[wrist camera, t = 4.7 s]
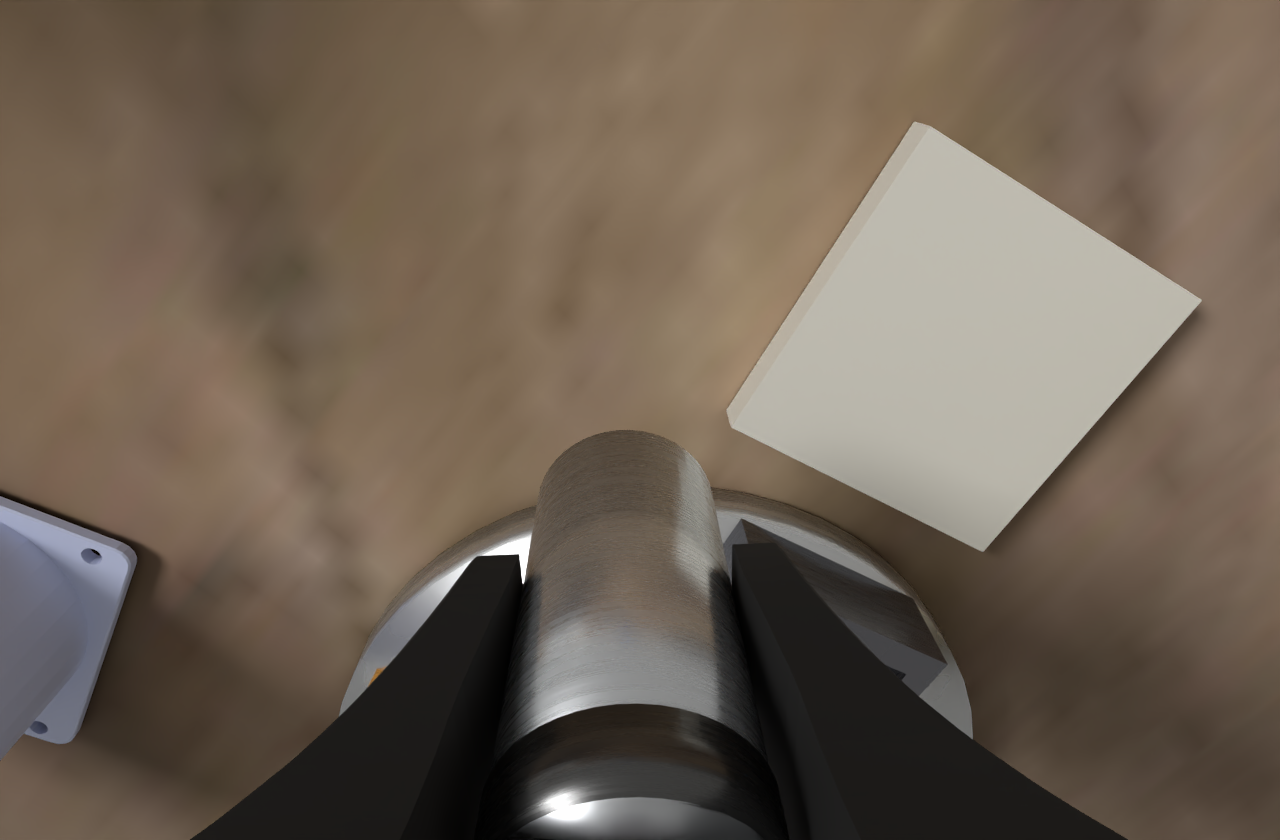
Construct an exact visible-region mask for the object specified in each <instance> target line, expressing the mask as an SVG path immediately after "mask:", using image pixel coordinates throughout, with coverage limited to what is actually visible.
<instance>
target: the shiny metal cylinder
mask: <svg viewBox="0 0 1280 840" xmlns="http://www.w3.org/2000/svg"><path fill="white" fill-rule="evenodd" d="M473 840H790V838H789V833H788V829H787V824H786V819H785V815H784V810H783V806H782V801H781V796H780V792H779V788H778V785H777V781H776V778H775V776H774V774H773V772H772V770H771V768H770V766H769V763H768V758H767V753H766V749H765V744H764V739H763V734H762V730H761V725H760V720H759V715H758V710H757V706H756V701H755V696H754V691H753V686H752V682H751V677H750V672H749V667H748V662H747V658H746V653H745V648H744V643H743V638H742V634H741V629H740V624H739V619H738V615H737V610H736V605H735V600H734V595H733V591H732V586H731V581H730V576H729V571H728V567H727V562H726V557H725V552H724V547H723V543H722V538H721V533H720V528H719V524H718V519H717V514H716V509H715V504H714V500H713V495H712V490H711V487H710V483H709V481H708V479H707V476H706V474H705V472H704V471H703V469H702V468H701V466H700V465H699V463H698V462H697V461H696V460H695V459H694V458H693V456H692V455H690V454H689V453H688V452H687V451H686V450H685V449H684V448H682V447H680V446H679V445H677V444H676V443H674V442H672V441H670V440H668V439H666V438H664V437H661V436H658V435H655V434H652V433H648V432H643V431H634V430H617V431H610V432H604V433H600V434H597V435H593V436H591V437H588V438H586V439H583V440H582V441H580V442H578V443H576V444H574V445H573V446H571V447H570V448H569V449H567V450H566V451H565V452H563V453H562V454H561V455H560V456H559V457H558V458H557V459H556V460H555V462H554V463H553V464H552V466H551V467H550V468H549V470H548V472H547V473H546V475H545V477H544V479H543V482H542V484H541V487H540V492H539V496H538V502H537V507H536V513H535V519H534V525H533V530H532V536H531V542H530V548H529V553H528V559H527V565H526V571H525V576H524V582H523V588H522V594H521V600H520V605H519V611H518V617H517V623H516V628H515V634H514V639H513V645H512V651H511V657H510V662H509V668H508V674H507V680H506V685H505V691H504V697H503V703H502V708H501V714H500V720H499V726H498V731H497V737H496V743H495V749H494V754H493V760H492V766H491V772H490V773H489V776H488V778H487V780H486V783H485V785H484V787H483V792H482V796H481V800H480V806H479V811H478V817H477V822H476V828H475V833H474V839H473Z"/></svg>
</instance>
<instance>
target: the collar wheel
mask: <svg viewBox="0 0 1280 840" xmlns="http://www.w3.org/2000/svg"><path fill="white" fill-rule="evenodd" d="M711 490H712V495H713V500H714V504H715V509H716V514H717V519H718V524H719V528H720V533H721V538H722V543H723V547H724V552H725V557H726V562H727V567H728V571H729V576H730V581H731V586H732V544H752V543H776V544H777V545H778V546H779V547H780V548H781V549H782V550H783V551H784V552H785V554H786V555H787V556H788V557H789V559H790V560H791V561H792V563H793V564H794V565H795V566H796V568H797V569H798V570H799V571H800V573H801V574H802V575H803V576H804V578H805V579H806V580H807V581H808V582H809V584H810V585H811V586H812V587H813V588H814V590H815V591H816V592H817V593H818V594H819V596H820V597H821V598H822V599H823V600H824V601H825V602H826V604H827V605H828V606H829V607H830V608H831V609H832V610H833V612H834V613H835V614H836V615H837V616H838V617H839V618H840V619H841V620H842V621H843V622H844V623H845V624H846V626H847V627H848V628H849V629H850V630H851V631H852V632H853V633H854V634H855V635H856V636H857V637H858V638H859V639H860V641H861V642H862V643H863V644H864V645H865V646H866V647H867V648H868V649H869V650H870V651H871V652H872V653H873V654H874V655H875V656H876V657H877V658H878V659H879V660H880V661H881V662H883V663H884V664H885V665H886V666H887V667H888V668H889V669H890V670H891V671H892V672H893V673H894V674H895V675H896V676H897V677H898V678H899V679H900V680H901V681H903V682H904V683H905V684H906V685H907V686H908V687H909V688H910V689H911V690H913V691H914V692H915V693H916V694H917V695H918V696H919V697H920V698H922V699H923V700H924V701H925V702H926V703H927V704H929V705H930V706H931V707H932V708H934V709H935V710H936V711H937V712H939V713H940V714H941V715H942V716H943V717H945V718H946V719H947V720H948V721H950V722H951V723H952V724H953V725H955V726H956V727H957V728H958V729H960V730H961V731H962V732H964V733H965V734H966V735H968V736H969V737H970V738H972V739H973V730H972V711H971V707H970V703H969V699H968V695H967V691H966V687H965V682H964V679H963V677H962V675H961V673H960V671H959V668H958V666H957V664H956V662H955V660H954V657H953V655H952V653H951V651H950V649H949V647H948V645H947V643H946V641H945V640H944V638H943V636H942V634H941V632H940V630H939V629H938V627H937V625H936V623H935V621H934V619H933V618H932V616H931V614H930V613H929V611H928V610H927V608H926V607H925V605H924V604H923V602H922V601H921V600H920V598H919V597H918V595H917V594H916V592H915V591H914V589H913V588H912V587H911V586H910V585H909V584H908V583H907V582H906V581H905V579H904V578H903V577H902V576H901V575H900V574H899V573H898V572H897V571H896V570H895V569H894V568H893V567H892V566H891V565H890V564H889V563H888V562H887V561H886V560H885V559H883V558H882V557H881V556H879V555H878V554H877V553H875V552H874V551H873V550H871V549H870V548H869V547H868V546H866V545H865V544H864V543H862V542H861V541H860V540H858V539H857V538H855V537H853V536H852V535H850V534H848V533H846V532H845V531H843V530H841V529H839V528H837V527H836V526H834V525H832V524H830V523H829V522H827V521H825V520H823V519H821V518H819V517H816V516H814V515H811V514H809V513H806V512H804V511H801V510H799V509H796V508H794V507H791V506H789V505H786V504H784V503H780V502H776V501H772V500H769V499H765V498H761V497H757V496H754V495H750V494H746V493H742V492H736V491H729V490H722V489H715V488H711ZM536 507H537V505H535V506H532V507H529V508H526V509H523V510H520V511H517V512H514V513H512V514H510V515H508V516H506V517H504V518H502V519H500V520H497V521H495V522H493V523H491V524H489V525H487V526H485V527H483V528H481V529H478V530H476V531H475V532H473V533H472V534H470V535H468V536H467V537H465V538H464V539H462V540H461V541H459V542H458V543H456V544H454V545H453V546H451V547H450V548H448V549H447V550H445V551H443V552H442V553H441V554H439V555H438V556H437V557H436V558H435V559H434V560H432V561H431V562H430V563H429V564H428V565H427V566H425V567H424V568H423V569H422V570H421V571H420V572H418V573H417V574H416V575H415V576H414V577H413V578H412V579H411V580H410V581H409V582H408V583H407V584H406V585H405V587H404V588H403V589H402V590H401V591H400V592H399V593H398V595H397V596H396V597H395V598H394V599H393V600H392V602H391V603H390V604H389V605H388V606H387V608H386V609H385V611H384V613H383V614H382V616H381V618H380V619H379V621H378V622H377V624H376V626H375V627H374V629H373V630H372V632H371V634H370V635H369V638H368V640H367V643H366V645H365V647H364V650H363V652H362V655H361V657H360V660H359V662H358V664H357V667H356V669H355V672H354V674H353V677H352V679H351V682H350V684H349V686H348V689H347V691H346V694H345V696H344V699H343V701H342V704H341V709H340V714H339V716H340V715H341V714H342V713H343V712H344V711H345V710H346V709H347V708H348V707H349V706H350V705H351V704H352V703H353V702H354V701H355V700H356V699H357V698H358V697H359V696H360V695H361V694H362V693H363V692H364V691H365V689H366V688H367V687H368V686H369V685H370V684H371V683H372V682H373V681H374V680H375V679H376V678H377V676H378V675H379V674H380V673H381V672H382V671H383V670H384V669H385V668H386V667H387V666H388V665H389V664H390V662H391V661H392V660H393V659H394V658H395V657H396V656H397V654H398V653H399V652H400V651H401V650H402V649H403V647H404V646H405V645H406V644H407V643H408V641H409V640H410V639H411V638H412V636H413V635H414V634H415V633H416V632H417V630H418V629H419V628H420V627H421V626H422V624H423V623H424V622H425V621H426V620H427V618H428V617H429V616H430V615H431V613H432V612H433V611H434V609H435V608H436V607H437V606H438V604H439V603H440V602H441V601H442V599H443V598H444V597H445V595H446V594H447V593H448V591H449V590H450V589H451V587H452V586H453V585H454V583H455V582H456V581H457V579H458V578H459V577H460V575H461V574H462V573H463V571H464V570H465V569H466V567H467V566H468V565H469V563H470V562H471V561H472V560H473V559H474V558H475V557H476V556H485V555H507V554H519V555H520V564H521V572H522V580H523V582H524V576H525V571H526V565H527V559H528V553H529V548H530V542H531V536H532V530H533V525H534V519H535V513H536Z"/></svg>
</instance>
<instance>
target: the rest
mask: <svg viewBox="0 0 1280 840" xmlns="http://www.w3.org/2000/svg"><path fill="white" fill-rule="evenodd" d="M1201 301H1202V300H1201V299H1199V298H1198V297H1196V296H1195V295H1193V294H1192V293H1190V292H1189V291H1187V290H1185V289H1184V288H1182V287H1181V286H1179V285H1178V284H1176V283H1174V282H1173V281H1171V280H1170V279H1168V278H1167V277H1165V276H1164V275H1162V274H1160V273H1159V272H1157V271H1156V270H1154V269H1153V268H1151V267H1149V266H1148V265H1146V264H1145V263H1143V262H1142V261H1140V260H1139V259H1137V258H1135V257H1134V256H1132V255H1131V254H1129V253H1128V252H1126V251H1124V250H1123V249H1121V248H1120V247H1118V246H1117V245H1115V244H1114V243H1112V242H1110V241H1109V240H1107V239H1106V238H1104V237H1103V236H1101V235H1100V234H1098V233H1096V232H1095V231H1093V230H1092V229H1090V228H1089V227H1087V226H1085V225H1084V224H1082V223H1081V222H1079V221H1078V220H1076V219H1075V218H1073V217H1071V216H1070V215H1068V214H1067V213H1065V212H1064V211H1062V210H1060V209H1059V208H1057V207H1056V206H1054V205H1053V204H1051V203H1050V202H1048V201H1046V200H1045V199H1043V198H1042V197H1040V196H1039V195H1037V194H1035V193H1034V192H1032V191H1031V190H1029V189H1028V188H1026V187H1025V186H1023V185H1021V184H1020V183H1018V182H1017V181H1015V180H1014V179H1012V178H1010V177H1009V176H1007V175H1006V174H1004V173H1003V172H1001V171H1000V170H998V169H996V168H995V167H993V166H992V165H990V164H989V163H987V162H986V161H984V160H982V159H981V158H979V157H978V156H976V155H975V154H973V153H971V152H970V151H968V150H967V149H965V148H964V147H962V146H961V145H959V144H957V143H956V142H954V141H953V140H951V139H950V138H948V137H946V136H945V135H943V134H942V133H940V132H939V131H937V130H936V129H934V128H932V127H931V126H928V125H925V124H921V123H918V122H914V123H913V124H912V126H911V127H910V129H909V130H908V132H907V133H906V135H905V136H904V138H903V140H902V141H901V143H900V144H899V146H898V147H897V149H896V150H895V152H894V153H893V155H892V156H891V158H890V159H889V161H888V163H887V164H886V166H885V167H884V169H883V170H882V172H881V173H880V175H879V176H878V178H877V179H876V181H875V183H874V184H873V186H872V187H871V189H870V190H869V192H868V193H867V195H866V196H865V198H864V199H863V201H862V203H861V204H860V206H859V207H858V209H857V210H856V212H855V213H854V215H853V216H852V218H851V219H850V221H849V222H848V224H847V226H846V227H845V229H844V230H843V232H842V233H841V235H840V236H839V238H838V239H837V241H836V242H835V244H834V246H833V247H832V249H831V250H830V252H829V253H828V255H827V256H826V258H825V259H824V261H823V262H822V264H821V266H820V267H819V269H818V270H817V272H816V273H815V275H814V276H813V278H812V279H811V281H810V282H809V284H808V285H807V287H806V289H805V290H804V292H803V293H802V295H801V296H800V298H799V299H798V301H797V302H796V304H795V305H794V307H793V309H792V310H791V312H790V313H789V315H788V316H787V318H786V319H785V321H784V322H783V324H782V325H781V327H780V329H779V330H778V332H777V333H776V335H775V336H774V338H773V339H772V341H771V342H770V344H769V345H768V347H767V349H766V350H765V352H764V353H763V355H762V356H761V358H760V359H759V361H758V362H757V364H756V365H755V367H754V368H753V370H752V372H751V373H750V375H749V376H748V378H747V379H746V381H745V382H744V384H743V385H742V387H741V388H740V390H739V392H738V393H737V395H736V396H735V398H734V399H733V401H732V402H731V404H730V405H729V407H728V408H727V410H726V411H727V415H728V418H729V421H730V425H731V428H733V429H735V430H737V431H739V432H742V433H744V434H746V435H748V436H750V437H752V438H754V439H756V440H758V441H760V442H762V443H764V444H766V445H768V446H770V447H772V448H774V449H776V450H778V451H780V452H782V453H784V454H786V455H788V456H790V457H792V458H794V459H796V460H798V461H800V462H802V463H804V464H806V465H808V466H810V467H812V468H814V469H816V470H818V471H820V472H822V473H824V474H826V475H828V476H830V477H832V478H834V479H836V480H838V481H840V482H842V483H844V484H846V485H848V486H850V487H852V488H854V489H857V490H859V491H861V492H863V493H865V494H867V495H869V496H871V497H873V498H875V499H877V500H879V501H881V502H883V503H885V504H887V505H889V506H891V507H893V508H895V509H897V510H899V511H901V512H903V513H905V514H907V515H909V516H911V517H913V518H915V519H917V520H919V521H921V522H923V523H925V524H927V525H929V526H931V527H933V528H935V529H937V530H939V531H941V532H943V533H945V534H947V535H949V536H951V537H953V538H955V539H957V540H959V541H961V542H963V543H965V544H967V545H970V546H972V547H974V548H976V549H978V550H980V551H982V552H984V550H985V549H986V548H987V547H988V546H989V545H990V544H991V542H992V541H993V540H994V539H995V538H996V537H997V535H998V534H999V533H1000V532H1001V531H1002V530H1003V529H1004V527H1005V526H1006V525H1007V524H1008V523H1009V522H1010V521H1011V519H1012V518H1013V517H1014V516H1015V515H1016V514H1017V513H1018V511H1019V510H1020V509H1021V508H1022V507H1023V506H1024V504H1025V503H1026V502H1027V501H1028V500H1029V499H1030V498H1031V496H1032V495H1033V494H1034V493H1035V492H1036V491H1037V490H1038V488H1039V487H1040V486H1041V485H1042V484H1043V483H1044V481H1045V480H1046V479H1047V478H1048V477H1049V476H1050V475H1051V473H1052V472H1053V471H1054V470H1055V469H1056V468H1057V467H1058V465H1059V464H1060V463H1061V462H1062V461H1063V460H1064V458H1065V457H1066V456H1067V455H1068V454H1069V453H1070V452H1071V450H1072V449H1073V448H1074V447H1075V446H1076V445H1077V444H1078V442H1079V441H1080V440H1081V439H1082V438H1083V437H1084V436H1085V434H1086V433H1087V432H1088V431H1089V430H1090V429H1091V427H1092V426H1093V425H1094V424H1095V423H1096V422H1097V421H1098V419H1099V418H1100V417H1101V416H1102V415H1103V414H1104V413H1105V411H1106V410H1107V409H1108V408H1109V407H1110V406H1111V404H1112V403H1113V402H1114V401H1115V400H1116V399H1117V398H1118V396H1119V395H1120V394H1121V393H1122V392H1123V391H1124V390H1125V388H1126V387H1127V386H1128V385H1129V384H1130V383H1131V381H1132V380H1133V379H1134V378H1135V377H1136V376H1137V375H1138V373H1139V372H1140V371H1141V370H1142V369H1143V368H1144V367H1145V365H1146V364H1147V363H1148V362H1149V361H1150V360H1151V359H1152V357H1153V356H1154V355H1155V354H1156V353H1157V352H1158V350H1159V349H1160V348H1161V347H1162V346H1163V345H1164V344H1165V342H1166V341H1167V340H1168V339H1169V338H1170V337H1171V336H1172V334H1173V333H1174V332H1175V331H1176V330H1177V329H1178V327H1179V326H1180V325H1181V324H1182V323H1183V322H1184V321H1185V319H1186V318H1187V317H1188V316H1189V315H1190V314H1191V313H1192V311H1193V310H1194V309H1195V308H1196V307H1197V306H1198V304H1199V303H1200V302H1201Z"/></svg>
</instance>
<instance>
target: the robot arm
mask: <svg viewBox="0 0 1280 840" xmlns="http://www.w3.org/2000/svg"><path fill="white" fill-rule="evenodd" d="M91 549H94V550H96V551H98V552H99V553H100V555H101V556H99V555H97V554H95V553H93V552H92V550H91ZM136 564H137V556H136V554H135V552H134V551H133V550H132V549H131V548H130V547H129V546H128V545H126V544H124V543H122V542H120V541H117V540H114V539H112V538H109V537H106V536H104V535H101V534H99V533H96V532H93V531H91V530H88V529H85V528H83V527H80V526H77V525H75V524H72V523H69V522H67V521H64V520H62V519H59V518H56V517H54V516H51V515H48V514H46V513H43V512H40V511H38V510H35V509H33V508H30V507H27V506H25V505H22V504H19V503H17V502H14V501H11V500H9V499H6V498H4V497H1V496H0V761H1V759H2V758H3V757H4V756H5V755H6V754H7V752H8V751H9V750H10V749H11V748H12V747H13V745H14V744H15V743H16V742H17V741H18V739H19V738H20V737H21V736H22V735H23V734H26V735H30V736H33V737H36V738H39V739H42V740H45V741H49V742H52V743H56V744H64V743H68V742H70V741H72V740H73V738H74V737H75V736H76V734H77V733H78V732H79V730H80V728H81V725H82V722H83V719H84V716H85V713H86V711H87V708H88V705H89V702H90V699H91V696H92V693H93V690H94V687H95V684H96V681H97V678H98V675H99V672H100V669H101V666H102V664H103V661H104V658H105V655H106V652H107V649H108V646H109V643H110V640H111V637H112V634H113V631H114V628H115V625H116V622H117V619H118V617H119V614H120V611H121V608H122V605H123V602H124V599H125V596H126V593H127V590H128V587H129V584H130V581H131V578H132V575H133V572H134V570H135V567H136ZM522 588H523V580H522V572H521V564H520V555H519V554H507V555H485V556H476V557H475V558H474V559H473V560H472V561H471V562H470V563H469V565H468V566H467V567H466V569H465V570H464V571H463V573H462V574H461V575H460V577H459V578H458V579H457V581H456V582H455V583H454V585H453V586H452V587H451V589H450V590H449V591H448V593H447V594H446V595H445V597H444V598H443V599H442V601H441V602H440V603H439V604H438V606H437V607H436V608H435V609H434V611H433V612H432V613H431V615H430V616H429V617H428V618H427V620H426V621H425V622H424V623H423V624H422V626H421V627H420V628H419V629H418V630H417V632H416V633H415V634H414V635H413V636H412V638H411V639H410V640H409V641H408V643H407V644H406V645H405V646H404V647H403V649H402V650H401V651H400V652H399V653H398V654H397V656H396V657H395V658H394V659H393V660H392V661H391V662H390V664H389V665H388V666H387V667H386V668H385V669H384V670H383V671H382V672H381V673H380V674H379V675H378V676H377V678H376V679H375V680H374V681H373V682H372V683H371V684H370V685H369V686H368V687H367V688H366V689H365V691H364V692H363V693H362V694H361V695H360V696H359V697H358V698H357V699H356V700H355V701H354V702H353V703H352V704H351V705H350V706H349V707H348V708H347V709H346V710H345V711H344V712H343V713H342V714H341V715H340V716H339V717H338V718H337V719H336V720H335V721H334V722H333V723H332V724H331V725H330V726H329V727H328V728H327V729H326V730H325V731H324V732H323V733H322V734H321V735H320V736H318V737H317V738H316V739H315V740H314V741H313V742H312V743H311V744H310V745H309V746H308V747H306V748H305V749H304V750H303V751H302V752H301V753H300V754H299V755H298V756H296V757H295V758H294V759H293V760H292V761H291V762H290V763H288V764H287V765H286V766H285V767H284V768H282V769H281V770H280V771H278V772H277V773H276V774H275V775H273V776H272V777H271V778H270V779H268V780H267V781H266V782H265V783H263V784H262V785H261V786H260V787H258V788H257V789H256V790H255V791H253V792H252V793H251V794H250V795H248V796H247V797H246V798H245V799H243V800H242V801H241V802H240V803H238V804H237V805H236V806H235V807H233V808H232V809H231V810H230V811H228V812H227V813H226V814H224V815H223V816H222V817H221V818H219V819H218V820H217V821H215V822H214V823H213V824H211V825H210V826H208V827H207V828H206V829H204V830H203V831H201V832H200V833H199V834H197V835H196V836H194V837H193V838H192V839H190V840H473V839H474V833H475V828H476V822H477V817H478V811H479V806H480V800H481V796H482V792H483V787H484V785H485V783H486V780H487V778H488V776H489V773H490V772H491V766H492V760H493V754H494V749H495V743H496V737H497V731H498V726H499V720H500V714H501V708H502V703H503V697H504V691H505V685H506V680H507V674H508V668H509V662H510V657H511V651H512V645H513V639H514V634H515V628H516V623H517V617H518V611H519V605H520V600H521V594H522ZM732 591H733V595H734V600H735V605H736V610H737V615H738V619H739V624H740V629H741V634H742V638H743V643H744V648H745V653H746V658H747V662H748V667H749V672H750V677H751V682H752V686H753V691H754V696H755V701H756V706H757V710H758V715H759V720H760V725H761V730H762V734H763V739H764V744H765V749H766V753H767V758H768V763H769V766H770V768H771V770H772V772H773V774H774V776H775V778H776V781H777V785H778V788H779V792H780V796H781V801H782V806H783V810H784V815H785V819H786V824H787V829H788V833H789V838H790V840H1128V839H1126V838H1124V837H1123V836H1121V835H1119V834H1118V833H1116V832H1114V831H1113V830H1111V829H1109V828H1107V827H1106V826H1104V825H1102V824H1101V823H1099V822H1097V821H1096V820H1094V819H1092V818H1091V817H1089V816H1087V815H1085V814H1084V813H1082V812H1080V811H1079V810H1077V809H1075V808H1074V807H1072V806H1070V805H1069V804H1067V803H1066V802H1064V801H1062V800H1061V799H1059V798H1058V797H1056V796H1055V795H1053V794H1051V793H1050V792H1048V791H1047V790H1045V789H1044V788H1042V787H1040V786H1039V785H1037V784H1036V783H1034V782H1033V781H1031V780H1030V779H1028V778H1027V777H1026V776H1024V775H1023V774H1021V773H1020V772H1018V771H1017V770H1015V769H1014V768H1012V767H1011V766H1010V765H1008V764H1007V763H1005V762H1004V761H1002V760H1001V759H999V758H998V757H997V756H995V755H994V754H992V753H991V752H989V751H988V750H986V749H985V748H984V747H982V746H981V745H980V744H978V743H977V742H976V741H974V740H973V739H972V738H970V737H969V736H968V735H966V734H965V733H964V732H962V731H961V730H960V729H958V728H957V727H956V726H955V725H953V724H952V723H951V722H950V721H948V720H947V719H946V718H945V717H943V716H942V715H941V714H940V713H939V712H937V711H936V710H935V709H934V708H932V707H931V706H930V705H929V704H927V703H926V702H925V701H924V700H923V699H922V698H920V697H919V696H918V695H917V694H916V693H915V692H914V691H913V690H911V689H910V688H909V687H908V686H907V685H906V684H905V683H904V682H903V681H901V680H900V679H899V678H898V677H897V676H896V675H895V674H894V673H893V672H892V671H891V670H890V669H889V668H888V667H887V666H886V665H885V664H884V663H883V662H881V661H880V660H879V659H878V658H877V657H876V656H875V655H874V654H873V653H872V652H871V651H870V650H869V649H868V648H867V647H866V646H865V645H864V644H863V643H862V642H861V641H860V639H859V638H858V637H857V636H856V635H855V634H854V633H853V632H852V631H851V630H850V629H849V628H848V627H847V626H846V624H845V623H844V622H843V621H842V620H841V619H840V618H839V617H838V616H837V615H836V614H835V613H834V612H833V610H832V609H831V608H830V607H829V606H828V605H827V604H826V602H825V601H824V600H823V599H822V598H821V597H820V596H819V594H818V593H817V592H816V591H815V590H814V588H813V587H812V586H811V585H810V584H809V582H808V581H807V580H806V579H805V578H804V576H803V575H802V574H801V573H800V571H799V570H798V569H797V568H796V566H795V565H794V564H793V563H792V561H791V560H790V559H789V557H788V556H787V555H786V554H785V552H784V551H783V550H782V549H781V548H780V547H779V546H778V545H777V544H776V543H752V544H732Z"/></svg>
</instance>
